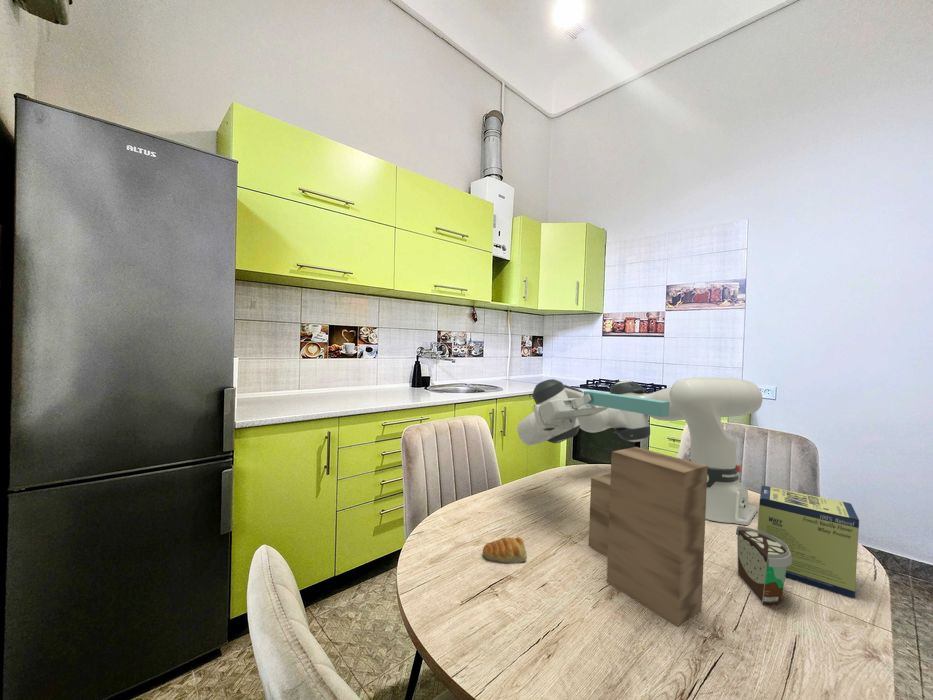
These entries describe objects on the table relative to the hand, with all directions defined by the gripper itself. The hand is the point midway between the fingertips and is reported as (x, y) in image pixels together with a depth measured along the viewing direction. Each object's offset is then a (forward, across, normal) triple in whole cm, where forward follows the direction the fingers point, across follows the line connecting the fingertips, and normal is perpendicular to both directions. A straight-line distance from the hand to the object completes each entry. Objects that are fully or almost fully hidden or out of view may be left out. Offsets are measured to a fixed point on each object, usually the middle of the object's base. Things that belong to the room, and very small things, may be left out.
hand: (596, 396), depth 95 cm
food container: (+10, -12, -46) cm, 49 cm away
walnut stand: (-4, +4, -37) cm, 38 cm away
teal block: (+5, 0, -5) cm, 7 cm away
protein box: (+11, -27, -47) cm, 55 cm away
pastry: (-20, +24, -29) cm, 43 cm away
